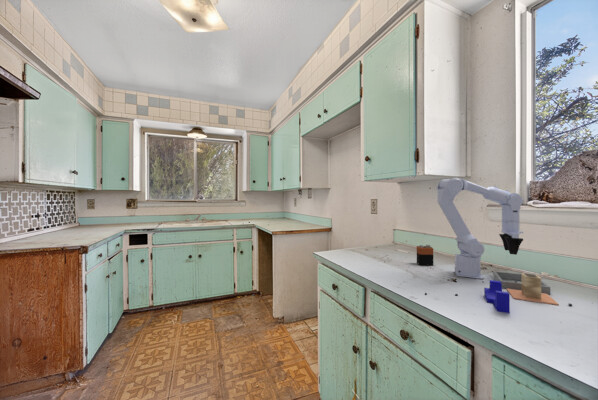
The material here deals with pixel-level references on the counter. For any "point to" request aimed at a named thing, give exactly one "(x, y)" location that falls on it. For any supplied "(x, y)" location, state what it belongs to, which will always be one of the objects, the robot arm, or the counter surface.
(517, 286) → the parts tray
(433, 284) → the counter surface
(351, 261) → the counter surface
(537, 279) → the part block
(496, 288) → the cable clip
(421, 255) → the battery
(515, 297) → the place mat
